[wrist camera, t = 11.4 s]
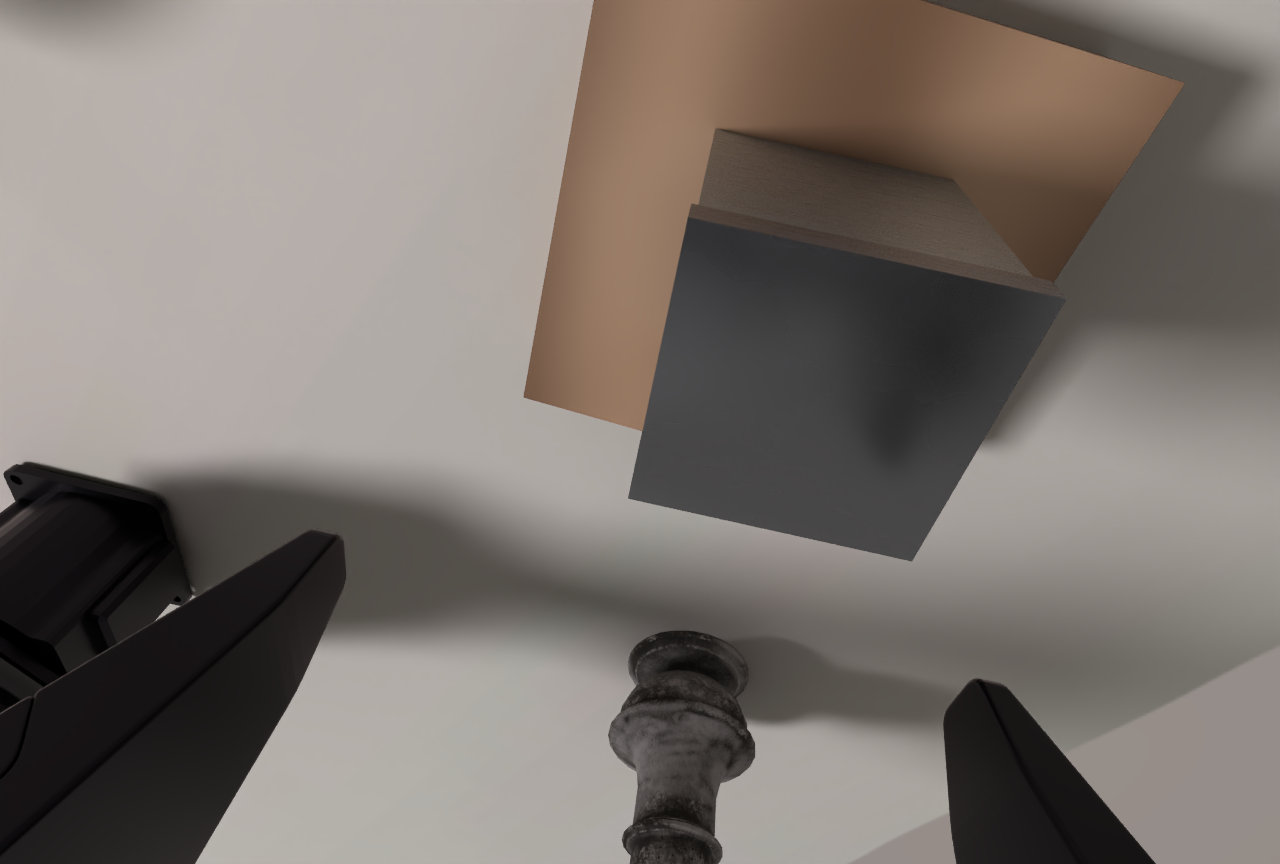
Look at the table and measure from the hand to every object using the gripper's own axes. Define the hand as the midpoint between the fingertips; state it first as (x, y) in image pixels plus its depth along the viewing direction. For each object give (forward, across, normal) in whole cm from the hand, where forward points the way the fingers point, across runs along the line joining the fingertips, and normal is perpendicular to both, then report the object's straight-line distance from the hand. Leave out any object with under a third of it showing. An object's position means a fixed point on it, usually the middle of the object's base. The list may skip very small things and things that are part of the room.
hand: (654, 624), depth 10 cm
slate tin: (+9, -2, -2) cm, 9 cm away
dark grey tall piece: (+13, -4, +18) cm, 22 cm away
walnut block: (+13, -2, -2) cm, 13 cm away
